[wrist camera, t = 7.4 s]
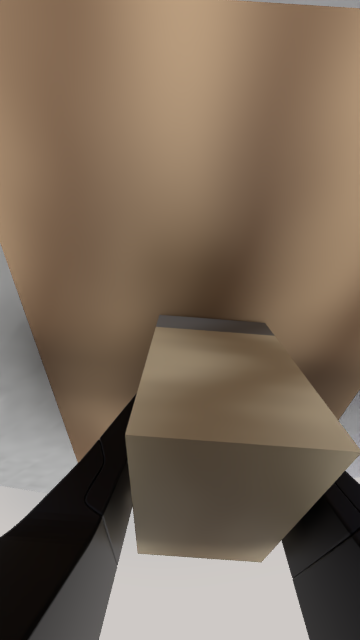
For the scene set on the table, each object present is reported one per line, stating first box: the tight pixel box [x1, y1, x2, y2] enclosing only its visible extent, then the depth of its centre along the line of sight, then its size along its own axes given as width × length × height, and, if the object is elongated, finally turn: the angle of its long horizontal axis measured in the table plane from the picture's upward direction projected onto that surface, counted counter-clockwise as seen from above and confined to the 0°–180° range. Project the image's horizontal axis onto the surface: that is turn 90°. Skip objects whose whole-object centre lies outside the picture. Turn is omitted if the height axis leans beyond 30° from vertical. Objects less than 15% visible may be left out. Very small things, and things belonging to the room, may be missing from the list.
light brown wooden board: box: [0, 0, 360, 463], centre depth 10 cm, size 16×22×1 cm
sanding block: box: [125, 315, 360, 562], centre depth 7 cm, size 4×7×5 cm, turn 176°
